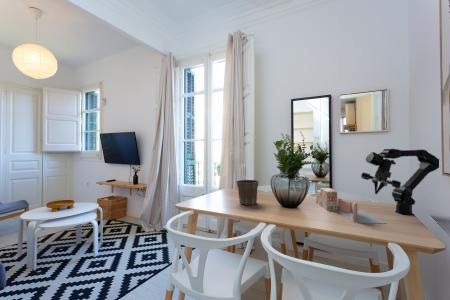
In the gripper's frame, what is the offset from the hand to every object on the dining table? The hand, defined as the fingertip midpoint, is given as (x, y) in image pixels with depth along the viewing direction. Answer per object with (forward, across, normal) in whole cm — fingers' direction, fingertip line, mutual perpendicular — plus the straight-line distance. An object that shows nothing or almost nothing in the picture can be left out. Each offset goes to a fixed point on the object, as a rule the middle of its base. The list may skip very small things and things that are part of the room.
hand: (375, 193), depth 125 cm
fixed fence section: (+16, -12, +1) cm, 20 cm away
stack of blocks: (+17, -24, +8) cm, 31 cm away
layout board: (+16, -4, -3) cm, 16 cm away
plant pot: (+36, -69, -13) cm, 79 cm away
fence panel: (+17, -5, -9) cm, 20 cm away
